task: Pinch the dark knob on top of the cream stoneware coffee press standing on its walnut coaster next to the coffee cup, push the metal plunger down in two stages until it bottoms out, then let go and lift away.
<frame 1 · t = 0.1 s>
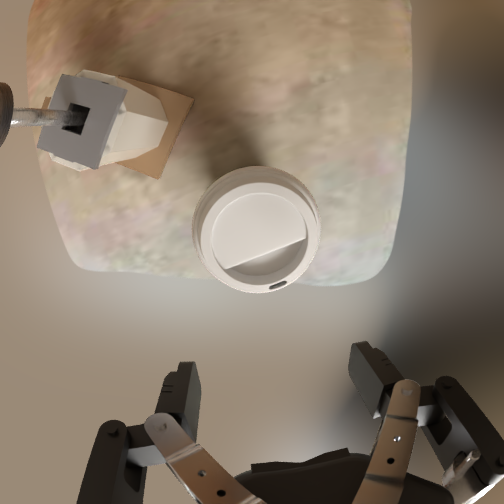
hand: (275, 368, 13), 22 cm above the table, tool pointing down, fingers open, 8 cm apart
plunger: (44, 117, 10), point 18 cm above the table, slide at 0.0 cm
press: (139, 125, 27), on the table
coffee cup: (247, 196, 32), on the table
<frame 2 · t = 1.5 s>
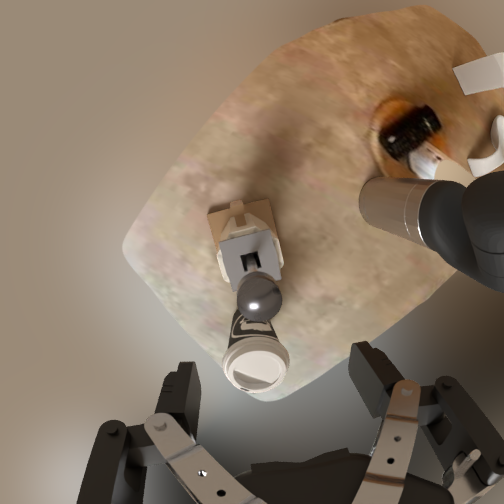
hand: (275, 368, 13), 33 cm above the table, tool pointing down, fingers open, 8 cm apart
milk carton: (464, 80, 38), on the table
spoon rest: (488, 147, 43), on the table
plunger: (253, 272, 27), point 18 cm above the table, slide at 0.0 cm
press: (245, 235, 45), on the table
coffee cup: (250, 320, 49), on the table
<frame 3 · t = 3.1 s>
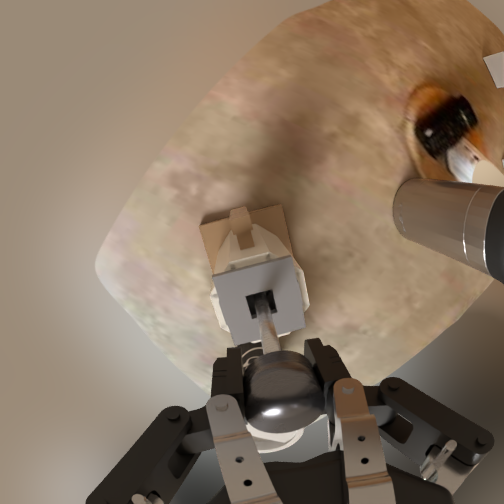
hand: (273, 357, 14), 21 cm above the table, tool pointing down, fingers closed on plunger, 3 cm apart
milk carton: (494, 71, 27), on the table
plunger: (267, 330, 16), point 18 cm above the table, slide at 0.0 cm, touching gripper
press: (250, 252, 34), on the table
coffee cup: (255, 355, 38), on the table
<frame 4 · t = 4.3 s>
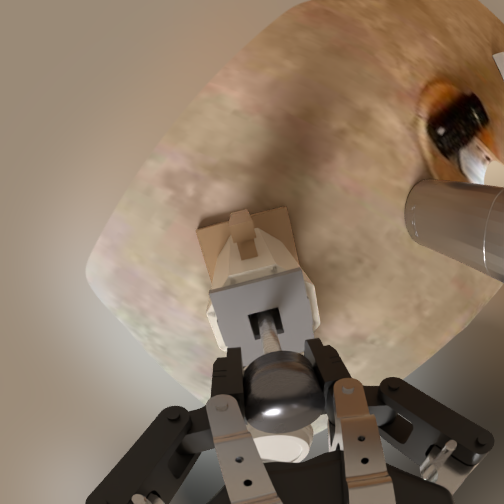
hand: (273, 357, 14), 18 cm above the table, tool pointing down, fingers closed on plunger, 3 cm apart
plunger: (267, 330, 16), point 15 cm above the table, slide at 2.9 cm, touching gripper
press: (251, 259, 31), on the table
coffee cup: (257, 367, 35), on the table
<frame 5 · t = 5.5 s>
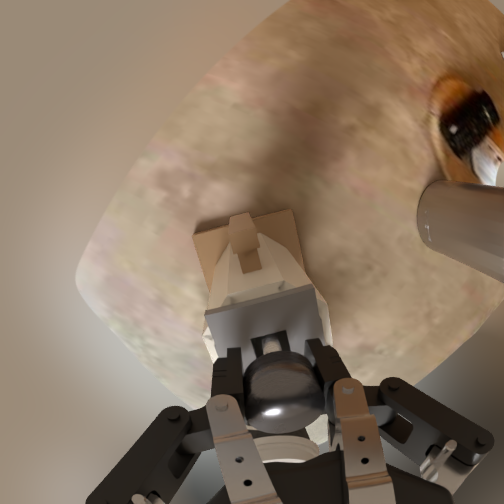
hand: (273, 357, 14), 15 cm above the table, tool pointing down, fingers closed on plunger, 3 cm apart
plunger: (267, 330, 16), point 13 cm above the table, slide at 5.7 cm, touching gripper
press: (253, 267, 28), on the table
coffee cup: (259, 379, 33), on the table
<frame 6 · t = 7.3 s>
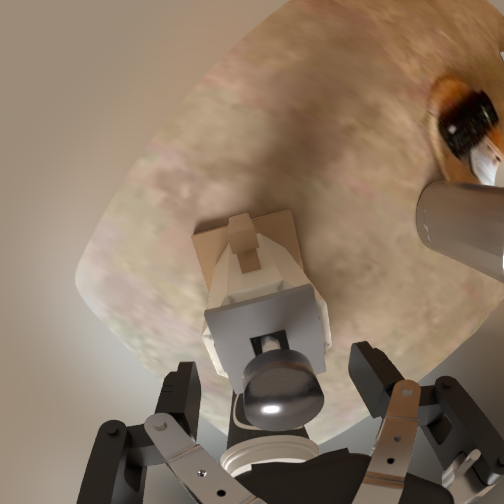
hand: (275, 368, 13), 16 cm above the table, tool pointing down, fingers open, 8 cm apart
plunger: (267, 329, 16), point 13 cm above the table, slide at 5.8 cm
press: (252, 267, 29), on the table
coffee cup: (258, 379, 33), on the table
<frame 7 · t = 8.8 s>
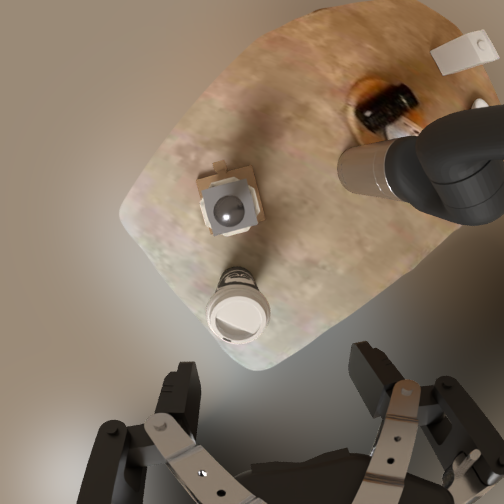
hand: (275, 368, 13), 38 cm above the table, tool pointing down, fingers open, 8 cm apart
milk carton: (442, 62, 41), on the table
plunger: (229, 205, 36), point 13 cm above the table, slide at 5.8 cm
press: (230, 199, 48), on the table
coffee cup: (236, 282, 52), on the table
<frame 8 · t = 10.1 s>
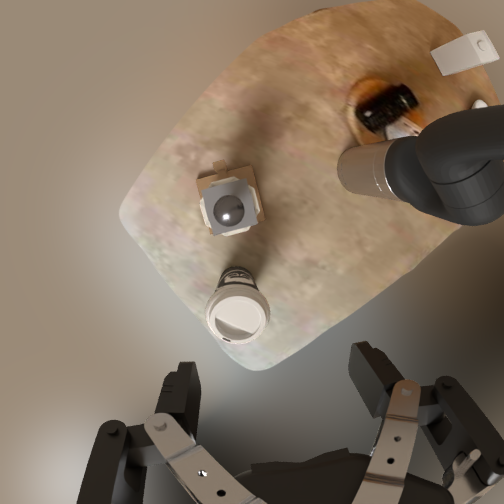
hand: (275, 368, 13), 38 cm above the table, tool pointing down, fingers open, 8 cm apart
milk carton: (442, 62, 41), on the table
plunger: (229, 205, 36), point 13 cm above the table, slide at 5.8 cm
press: (230, 199, 48), on the table
coffee cup: (236, 282, 52), on the table
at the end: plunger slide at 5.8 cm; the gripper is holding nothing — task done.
